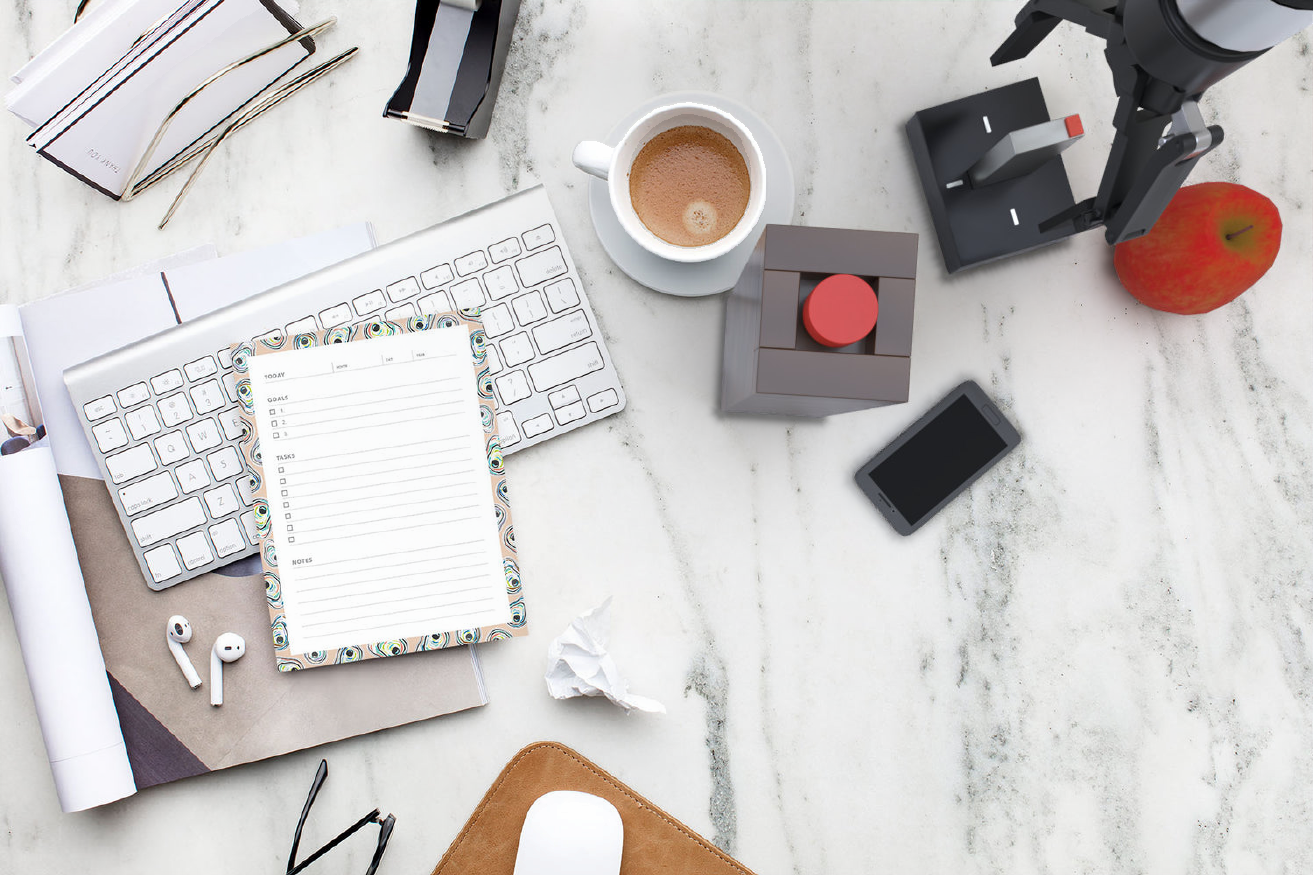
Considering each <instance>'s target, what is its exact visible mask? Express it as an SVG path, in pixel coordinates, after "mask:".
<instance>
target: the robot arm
mask: <svg viewBox="0 0 1313 875" xmlns="http://www.w3.org/2000/svg"><path fill="white" fill-rule="evenodd" d="M1063 20H1065V21H1067V22H1069V23H1073V24H1075V25H1078V26H1081V27H1084V28H1085V33H1087V34H1090V35H1092V36H1095V37H1098V38H1100V39H1103V40H1106V43H1105V44H1106V48H1104V49H1103V54H1104V56H1105V60H1106V63H1107V65H1108V67H1109V69H1110V71H1111V73H1112V74H1111V75H1112V82H1113V83H1112V84H1113V88H1114V92H1115V95H1116V98H1119V99H1118V101H1117V105H1116V109H1115V112H1114V116H1113V118H1112V123H1111V124H1112V127H1113V128H1115V130H1116V131H1115V133H1114V134H1115V135H1114V137H1113V141H1112V143H1111V147H1110V150H1109V154H1108V156H1107V157H1108V158H1107V160H1106V164H1105V167H1104V170H1103V174H1102V176H1101V179H1100V183H1099V186H1098V190H1097V193H1096V196H1092V197H1089V198H1085V199H1083V200H1081V201H1078V202H1077V203H1076V204H1075V205H1074V206H1072V207H1070V208H1068V209H1066V210H1064V211H1062V212H1061V213H1059V214H1057V215H1055V216H1053V217H1051V218H1049V219H1047V220H1046V221H1044V222H1042V223H1040V224H1038V227H1039V231H1040V234H1042V233H1045V232H1049V231H1052V230H1056V229H1059V228H1062V227H1066V226H1069V225H1073V224H1074V228H1075V231H1076V232H1078V233H1079V234H1081V233H1085V232H1088V231H1092V230H1095V229H1098V228H1101V227H1102V226H1104V227H1105V228H1106V229H1105V230H1104V240H1105V242H1106V243H1107V244H1108V245H1109V246H1113V245H1116V244H1118V243H1121V242H1125V241H1128V240H1131V239H1135V238H1138V237H1141V236H1145V235H1147V234H1148V233H1149V232H1150V230H1151V229H1152V227H1153V226H1154V225H1155V223H1156V222H1157V220H1158V219H1159V217H1160V216H1161V214H1162V213H1163V211H1164V210H1165V209H1166V207H1167V206H1168V204H1169V203H1170V201H1171V200H1172V198H1173V197H1174V195H1175V194H1176V193H1177V191H1178V190H1179V188H1180V187H1182V185H1183V184H1184V182H1185V181H1186V180H1187V178H1188V177H1189V175H1190V174H1191V173H1192V171H1193V169H1194V167H1196V165H1197V164H1198V162H1199V161H1200V159H1201V158H1203V157H1204V156H1206V155H1207V154H1208V153H1210V152H1211V151H1213V150H1215V149H1216V148H1217V147H1219V146H1220V145H1221V144H1222V143H1223V141H1224V138H1225V130H1224V128H1223V127H1222V126H1221V124H1212V125H1208V126H1206V122H1205V121H1204V118H1203V115H1202V113H1201V111H1200V108H1199V105H1198V104H1199V103H1200V101H1201V100H1202V98H1203V96H1204V94H1205V93H1206V92H1207V90H1208V89H1209V88H1211V87H1212V86H1213V85H1215V84H1218V83H1219V82H1220V81H1222V80H1224V79H1225V78H1228V77H1229V76H1230V75H1232V74H1234V73H1235V72H1237V71H1239V70H1240V69H1241V68H1243V67H1245V66H1247V65H1249V64H1250V63H1251V62H1253V61H1254V60H1256V59H1258V58H1260V57H1262V55H1264V54H1266V53H1268V52H1269V51H1271V50H1272V49H1273V48H1274V47H1275V46H1279V45H1280V44H1282V43H1283V42H1285V41H1287V40H1288V39H1290V38H1291V37H1293V36H1294V35H1297V34H1298V33H1299V32H1302V31H1303V30H1304V29H1306V28H1307V27H1309V26H1311V25H1313V0H1028V1H1027V3H1025V5H1024V6H1023V7H1022V8H1021V9H1020V10H1019V12H1017V14H1016V15H1015V18H1014V21H1013V22H1014V26H1015V29H1014V30H1013V31H1012V32H1011V34H1010V35H1009V36H1008V37H1007V38H1006V39H1005V40H1004V41H1003V42H1002V43H1001V44H1000V46H999V47H998V48H997V49H996V50H995V51H994V52H993V53H992V54H991V56H990V57H989V61H990V65H991V68H994V67H997V66H1001V65H1005V64H1008V63H1012V62H1015V61H1018V60H1021V59H1025V58H1027V56H1028V55H1029V54H1030V53H1031V52H1033V50H1034V49H1035V48H1036V47H1037V46H1038V45H1039V44H1040V43H1041V42H1042V41H1043V40H1045V38H1046V37H1047V36H1048V35H1049V34H1051V32H1053V31H1054V29H1056V27H1057V26H1058V25H1059V24H1060V23H1061V22H1062V21H1063ZM1139 108H1140V109H1139ZM1170 124H1171V126H1170V128H1169V129H1168V131H1167V132H1166V135H1163V134H1164V131H1165V129H1166V127H1167V126H1168V125H1170Z"/></svg>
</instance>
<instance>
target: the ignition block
mask: <svg viewBox="0 0 1313 875" xmlns="http://www.w3.org/2000/svg"><path fill="white" fill-rule="evenodd" d="M918 250H919V233H916V232H915V233H914V232H901V231H885V230H870V229H853V228H840V227H839V228H838V227H825V226H824V227H822V226H808V225H807V226H806V225H792V224H778V223H777V224H776V223H766V224H765V227H764V229H763V230H762V232H761V233H760V237H759V238H758V240H757V242H756V244H755V246H754V248H753V250H752V252H751V254H750V256H749V258H748V260H747V261H746V264H745V265H744V268H743V269H742V271H741V273H740V275H739V277H738V279H737V281H736V282H735V285H734V287H733V289H732V290H731V292H730V295H729V296H728V298H727V302H726V318H725V332H724V333H725V334H724V335H725V336H724V347H723V348H724V349H723V364H722V367H723V368H722V381H721V396H720V412H728V413H729V412H731V413H745V414H763V415H777V416H778V415H779V416H793V417H794V416H795V417H807V418H824V417H829V416H835V415H836V416H837V415H842V414H848V413H854V412H860V411H866V410H872V409H879V408H885V407H890V406H897V405H902V404H908V403H909V399H910V397H909V395H910V381H911V364H912V351H913V334H914V316H915V300H916V286H917V284H916V283H917V270H918V269H917V268H918ZM837 274H850V275H854V276H857V277H859V278H861V279H862V280H864V281H865V282H866V283H867V284H868V285H869V286H870V287H871V288H872V289H873V291H874V293H875V295H876V297H877V301H878V317H877V321H876V323H875V325H874V327H873V329H872V330H871V331H870V332H869V333H868V334H867V335H866V336H865V337H864V338H862V339H860V340H859V341H857V342H855V343H853V344H851V345H848V346H845V347H839V348H834V347H828V346H825V345H823V344H821V343H819V342H817V341H816V340H815V339H814V338H813V337H812V336H811V335H810V334H809V333H808V331H807V329H806V327H805V324H804V321H803V307H804V303H805V301H806V298H807V297H808V295H809V294H810V292H811V291H812V290H813V289H814V288H815V287H816V286H817V285H818V284H819V283H820V282H822V281H823V280H824V279H826V278H828V277H830V276H833V275H837Z"/></svg>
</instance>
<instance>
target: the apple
mask: <svg viewBox="0 0 1313 875" xmlns="http://www.w3.org/2000/svg"><path fill="white" fill-rule="evenodd" d="M1283 227H1284V226H1283V221H1282V218H1281V214H1280V211H1279V207H1278V206H1277V205H1276V204H1275V203H1274V202H1273V201H1272V199H1270V197H1269V196H1266V195H1264V194H1262V193H1260V192H1259V191H1257V190H1255V189H1252V188H1250V187H1248V186H1246V185H1244V184H1242V183H1241V184H1240V183H1235V182H1229V181H1222V180H1221V181H1204V182H1199V183H1194V184H1190V185H1185V186H1181V187H1180V188H1179V190H1178V191H1177V193H1176V194H1175V195H1174V197H1173V198H1172V200H1171V201H1170V203H1169V204H1168V206H1167V207H1166V209H1165V210H1164V211H1163V213H1162V214H1161V216H1160V217H1159V219H1158V220H1157V222H1156V223H1155V225H1154V226H1153V227H1152V229H1151V230H1150V232H1149V233H1148V234H1147V235H1145V236H1141V237H1138V238H1135V239H1131V240H1128V241H1125V242H1121V243H1118V244H1115V247H1114V254H1113V261H1112V263H1113V266H1114V269H1115V271H1116V274H1117V276H1118V279H1119V282H1120V285H1122V287H1123V288H1124V289H1125V291H1127V293H1129V294H1130V295H1131V296H1132V297H1133V298H1135V299H1136V300H1137V301H1138V302H1139V303H1141V305H1143V306H1146V307H1148V308H1151V309H1152V310H1153V309H1154V310H1156V311H1159V312H1165V313H1170V314H1174V315H1180V316H1195V315H1205V314H1209V313H1210V312H1213V311H1215V310H1217V309H1220V308H1222V307H1224V306H1226V305H1227V304H1229V303H1232V302H1233V301H1235V299H1237V298H1239V297H1240V296H1241V295H1242V294H1244V293H1245V292H1246V291H1248V290H1249V289H1250V288H1252V287H1253V286H1255V284H1256V283H1257V282H1259V281H1260V280H1261V279H1262V278H1263V277H1264V276H1265V275H1266V274H1267V273H1268V271H1270V269H1271V268H1272V267H1273V265H1274V263H1275V262H1276V259H1277V258H1278V254H1279V252H1280V249H1281V244H1282V234H1283Z"/></svg>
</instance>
